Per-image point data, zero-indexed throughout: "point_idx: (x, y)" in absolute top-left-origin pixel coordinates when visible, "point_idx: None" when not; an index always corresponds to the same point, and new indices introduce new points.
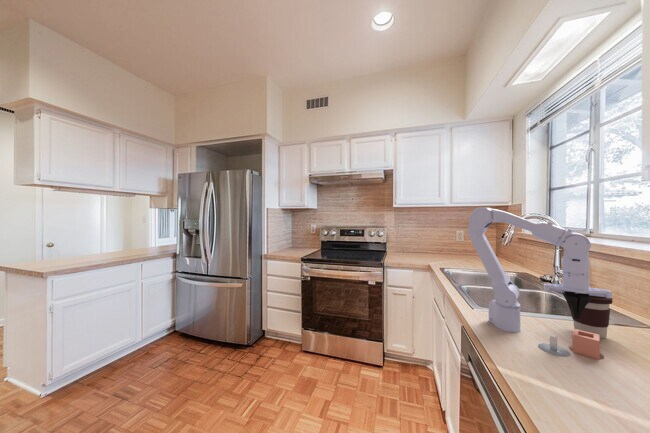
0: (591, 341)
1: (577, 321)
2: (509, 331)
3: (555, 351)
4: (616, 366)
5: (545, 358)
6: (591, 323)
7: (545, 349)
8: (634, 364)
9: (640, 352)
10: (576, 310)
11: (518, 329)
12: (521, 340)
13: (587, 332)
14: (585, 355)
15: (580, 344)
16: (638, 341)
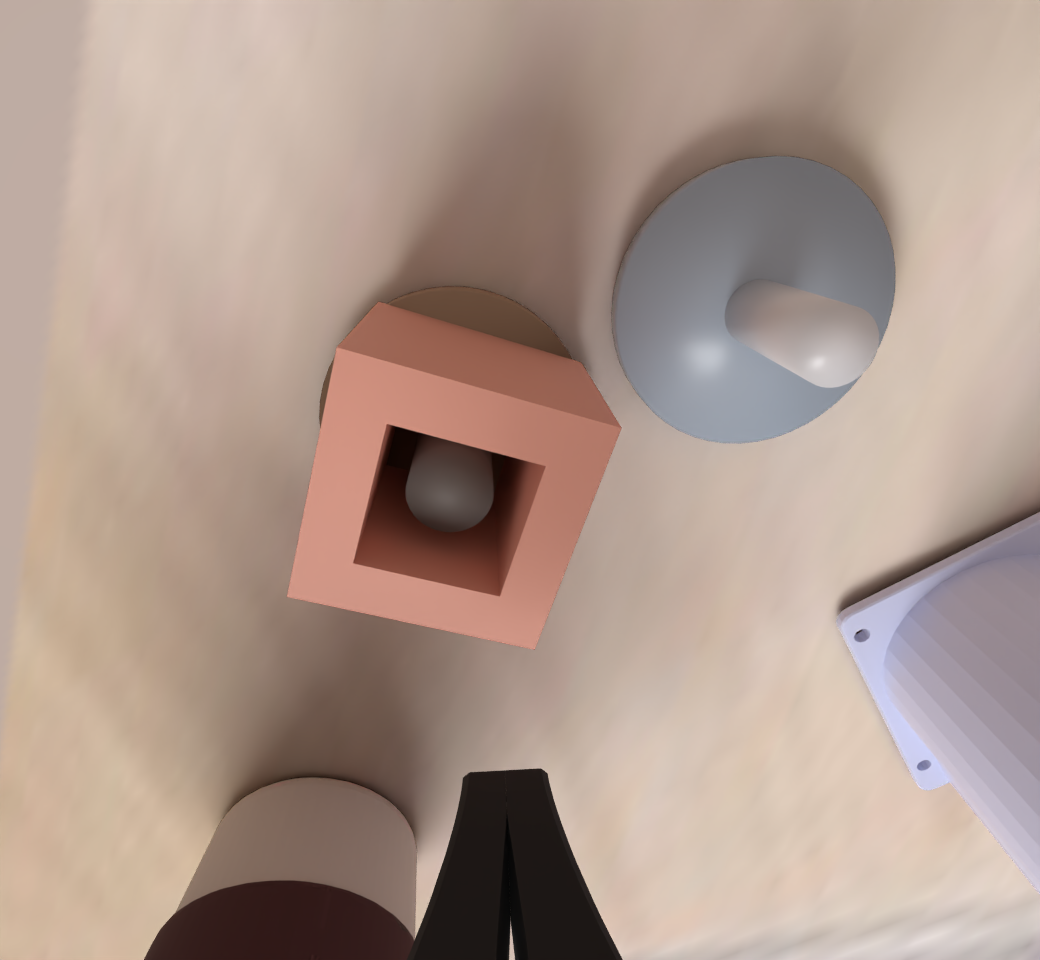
0: (426, 360)
1: (397, 923)
2: (1025, 558)
3: (754, 273)
4: (260, 282)
5: (891, 91)
6: (289, 909)
7: (842, 271)
8: (108, 419)
9: (31, 692)
10: (530, 908)
11: (947, 611)
12: (951, 447)
13: (407, 597)
14: (485, 331)
15: (529, 371)
16: (19, 876)
